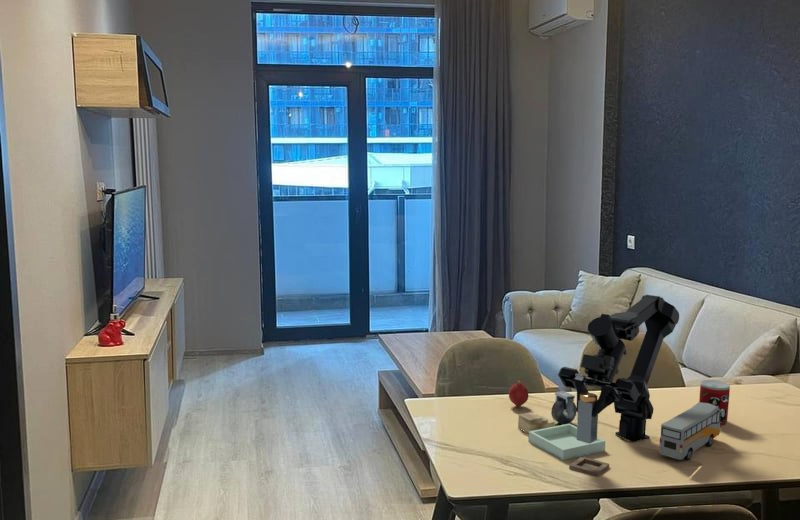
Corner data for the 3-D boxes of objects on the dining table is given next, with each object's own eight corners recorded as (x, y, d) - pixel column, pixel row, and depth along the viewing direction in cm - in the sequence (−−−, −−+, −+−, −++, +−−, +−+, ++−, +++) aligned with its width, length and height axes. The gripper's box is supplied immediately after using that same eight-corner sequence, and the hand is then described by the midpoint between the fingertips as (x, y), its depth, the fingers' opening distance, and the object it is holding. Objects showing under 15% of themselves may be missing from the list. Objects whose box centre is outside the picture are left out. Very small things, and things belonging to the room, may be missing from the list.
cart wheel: (567, 418, 207) (568, 389, 206) (579, 424, 202) (580, 394, 201) (547, 422, 204) (549, 393, 203) (559, 428, 199) (560, 398, 198)
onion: (508, 402, 220) (509, 377, 219) (527, 404, 219) (528, 378, 218) (508, 409, 214) (509, 383, 213) (528, 410, 213) (529, 384, 212)
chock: (542, 424, 203) (543, 409, 202) (554, 430, 198) (554, 415, 198) (518, 429, 199) (518, 414, 198) (529, 435, 195) (529, 420, 194)
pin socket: (581, 460, 177) (581, 456, 177) (609, 468, 173) (609, 463, 173) (569, 470, 172) (569, 465, 172) (597, 478, 168) (597, 473, 167)
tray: (568, 434, 195) (569, 423, 194) (604, 452, 183) (605, 440, 182) (528, 442, 189) (528, 431, 188) (562, 461, 177) (563, 450, 176)
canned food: (698, 423, 204) (700, 385, 203) (697, 414, 212) (700, 378, 210) (727, 427, 201) (730, 389, 200) (726, 418, 209) (729, 381, 207)
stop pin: (582, 435, 176) (584, 391, 174) (598, 439, 173) (600, 395, 172) (575, 440, 173) (577, 395, 171) (590, 444, 170) (592, 399, 169)
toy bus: (722, 440, 192) (725, 404, 191) (682, 467, 174) (684, 428, 173) (697, 433, 197) (699, 398, 196) (655, 459, 179) (657, 420, 178)
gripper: (563, 334, 179) (539, 388, 172) (636, 347, 167) (613, 406, 160) (576, 359, 186) (554, 411, 179) (647, 373, 174) (626, 430, 167)
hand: (585, 414), depth 171 cm, fingers closed on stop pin, 3 cm apart
